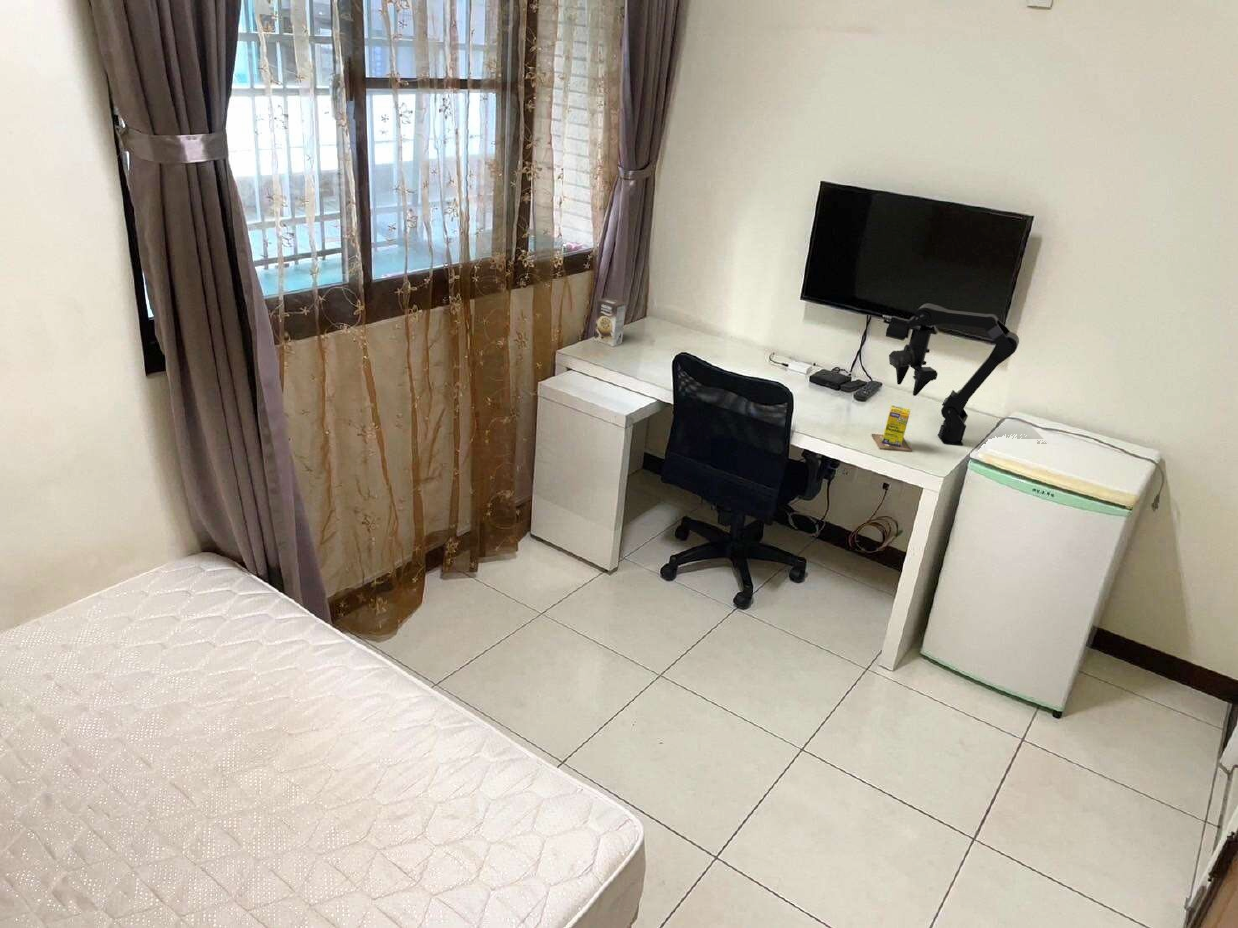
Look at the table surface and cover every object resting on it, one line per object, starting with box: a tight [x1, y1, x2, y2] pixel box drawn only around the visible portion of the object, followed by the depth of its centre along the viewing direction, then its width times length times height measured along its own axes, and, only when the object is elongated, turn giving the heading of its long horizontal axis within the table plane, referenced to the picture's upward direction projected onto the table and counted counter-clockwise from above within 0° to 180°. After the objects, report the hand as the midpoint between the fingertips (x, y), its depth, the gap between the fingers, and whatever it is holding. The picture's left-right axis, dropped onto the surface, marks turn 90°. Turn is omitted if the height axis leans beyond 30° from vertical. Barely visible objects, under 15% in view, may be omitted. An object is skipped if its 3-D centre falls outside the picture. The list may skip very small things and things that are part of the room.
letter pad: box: [870, 433, 912, 453], centre depth 279 cm, size 10×10×1 cm
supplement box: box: [882, 404, 911, 447], centre depth 276 cm, size 6×6×11 cm
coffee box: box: [594, 296, 627, 347], centre depth 335 cm, size 9×6×16 cm
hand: (906, 389), depth 286 cm, fingers open, 9 cm apart
